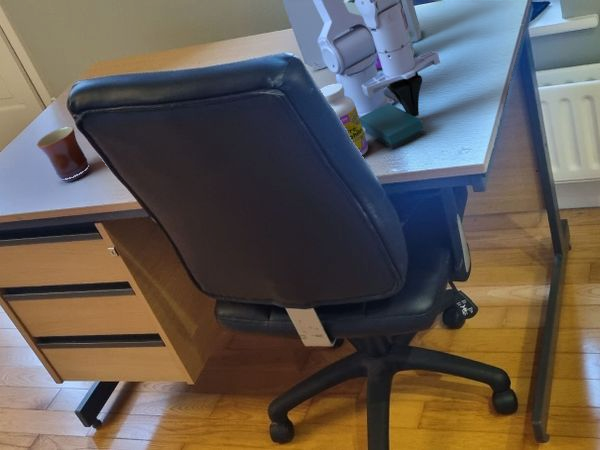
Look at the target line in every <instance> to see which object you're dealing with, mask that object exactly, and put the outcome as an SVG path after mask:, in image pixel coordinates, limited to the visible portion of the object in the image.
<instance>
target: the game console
mask: <svg viewBox="0 0 600 450" xmlns="http://www.w3.org/2000/svg"><path fill="white" fill-rule="evenodd" d="M281 1H282V3H283V6H284V9H285V12H286V15H287V18H288V20H289V23H290V27H291V28H292V32H293V34H294V37H295V40H296V43H297V45H298V48H299V51H300V54H301V56H302V59H303V62H304V65H307V66H309V67H311V68H312V67H313V66H316V67H313V69H314V70H316V71H317V70H321V69H325V68H328V67H327V66H326V64H325V62H324V60H323V57H322V52H321V49H320V46H319V44H318V38H319V36H320V33H321V31H322V29H323V26H324V22H323V20H322V18H321V16H320V14H319V12H318V10H317V8H316V6H315V4H314V2H313V0H281ZM400 3H401V7H402V10H403V14H404V17H405V21H406V24H407V28H408V31H409V34H410V38H411V41H412V43H415V42H418V41H420V40H421V39H422V30H421V26H420V22H419V19H418V15H417V11H416V8H415V4H414V0H402V1H401V2H400ZM349 31H350V29H347V30H345V31H343V32H342V33H340V34H338V35H337V36H335V38H334V39H336V38H338V37H340V36H342V35H344V34H345V33H347V32H349ZM318 65H319V66H318Z"/></svg>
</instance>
